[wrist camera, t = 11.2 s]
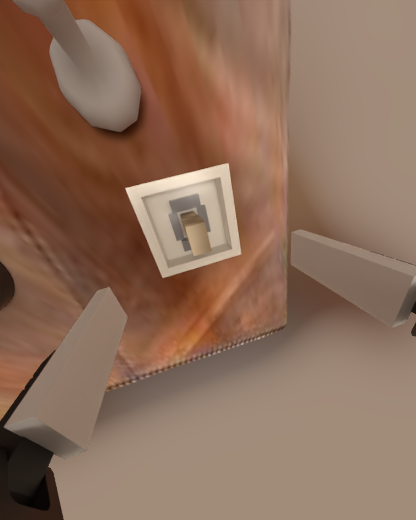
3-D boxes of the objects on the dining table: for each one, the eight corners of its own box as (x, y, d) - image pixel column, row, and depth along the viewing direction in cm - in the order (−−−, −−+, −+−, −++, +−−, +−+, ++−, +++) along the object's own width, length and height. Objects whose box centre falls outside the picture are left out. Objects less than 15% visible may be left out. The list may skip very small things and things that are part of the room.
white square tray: (163, 267, 34) (162, 278, 30) (131, 188, 27) (125, 188, 23) (233, 246, 35) (241, 254, 31) (220, 166, 29) (228, 163, 25)
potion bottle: (157, 114, 24) (132, -33, 8) (109, 150, 24) (-6, 77, 8) (111, 34, 20) (-124, -579, 4) (55, 78, 21) (-358, -316, 4)
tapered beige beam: (186, 234, 31) (193, 256, 21) (179, 214, 29) (185, 227, 20) (198, 231, 31) (211, 251, 22) (193, 210, 30) (204, 221, 20)
